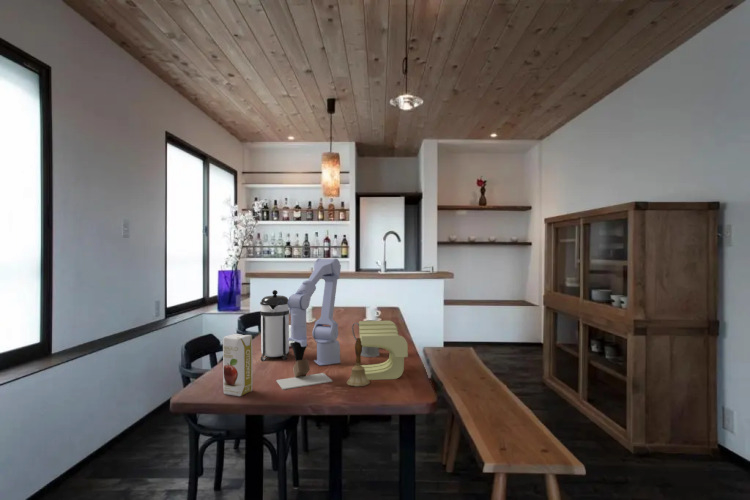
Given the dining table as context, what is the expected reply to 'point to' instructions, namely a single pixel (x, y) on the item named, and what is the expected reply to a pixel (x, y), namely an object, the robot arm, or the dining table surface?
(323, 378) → the felt mat
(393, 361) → the slatted curved stool
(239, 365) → the juice carton
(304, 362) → the walnut block
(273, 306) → the coffee press
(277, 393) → the dining table surface
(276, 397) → the dining table surface
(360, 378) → the hand bell
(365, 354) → the glass holder
